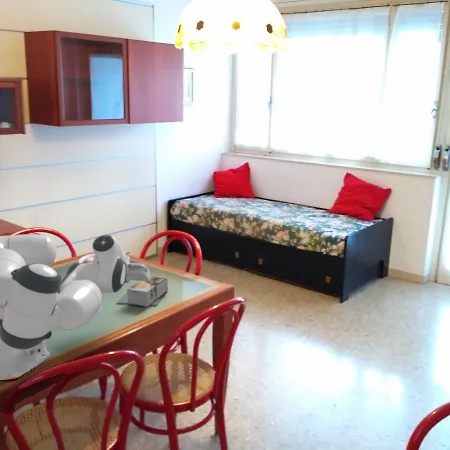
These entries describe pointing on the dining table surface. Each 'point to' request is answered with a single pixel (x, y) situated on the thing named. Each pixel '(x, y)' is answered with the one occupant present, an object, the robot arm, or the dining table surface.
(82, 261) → the ramen bowl
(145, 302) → the coffee box
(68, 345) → the dining table surface
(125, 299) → the mat
